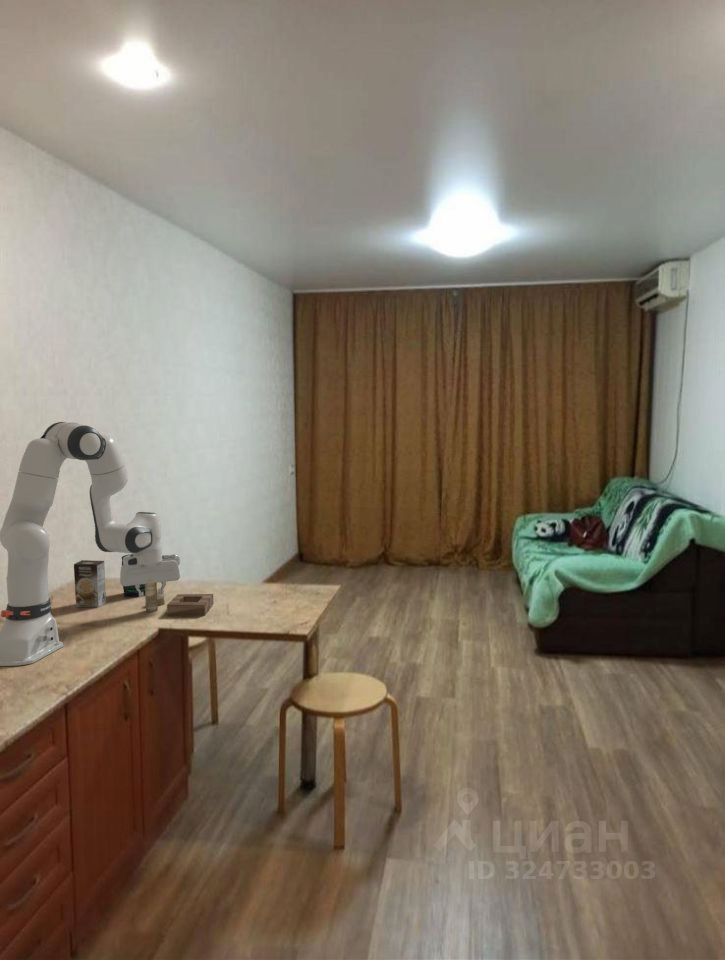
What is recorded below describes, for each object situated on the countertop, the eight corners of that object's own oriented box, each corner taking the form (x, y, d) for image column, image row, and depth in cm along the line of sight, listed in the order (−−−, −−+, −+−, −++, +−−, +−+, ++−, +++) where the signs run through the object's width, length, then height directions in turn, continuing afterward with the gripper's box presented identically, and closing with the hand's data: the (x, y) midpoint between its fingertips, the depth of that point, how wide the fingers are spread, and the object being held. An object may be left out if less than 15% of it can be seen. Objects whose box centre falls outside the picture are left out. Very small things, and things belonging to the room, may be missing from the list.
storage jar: (139, 598, 259) (137, 559, 258) (117, 596, 262) (115, 558, 261) (155, 591, 269) (153, 554, 267) (134, 589, 272) (132, 552, 270)
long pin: (155, 612, 241) (154, 579, 240) (144, 612, 241) (142, 579, 240) (159, 608, 245) (157, 576, 244) (148, 609, 245) (146, 576, 244)
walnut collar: (204, 615, 237) (204, 604, 236) (167, 616, 237) (166, 604, 236) (213, 604, 249) (213, 593, 249) (178, 605, 250) (177, 594, 249)
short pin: (162, 605, 249) (162, 592, 249) (151, 605, 249) (151, 592, 249) (166, 602, 253) (165, 589, 253) (155, 602, 253) (154, 589, 253)
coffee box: (75, 607, 249) (72, 564, 247) (83, 602, 255) (81, 560, 254) (99, 607, 248) (96, 564, 246) (107, 602, 254) (104, 560, 253)
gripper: (178, 552, 248) (179, 589, 250) (118, 558, 240) (120, 596, 242) (180, 555, 242) (182, 593, 244) (119, 561, 234) (121, 601, 236)
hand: (151, 595), depth 243 cm, fingers open, 5 cm apart
